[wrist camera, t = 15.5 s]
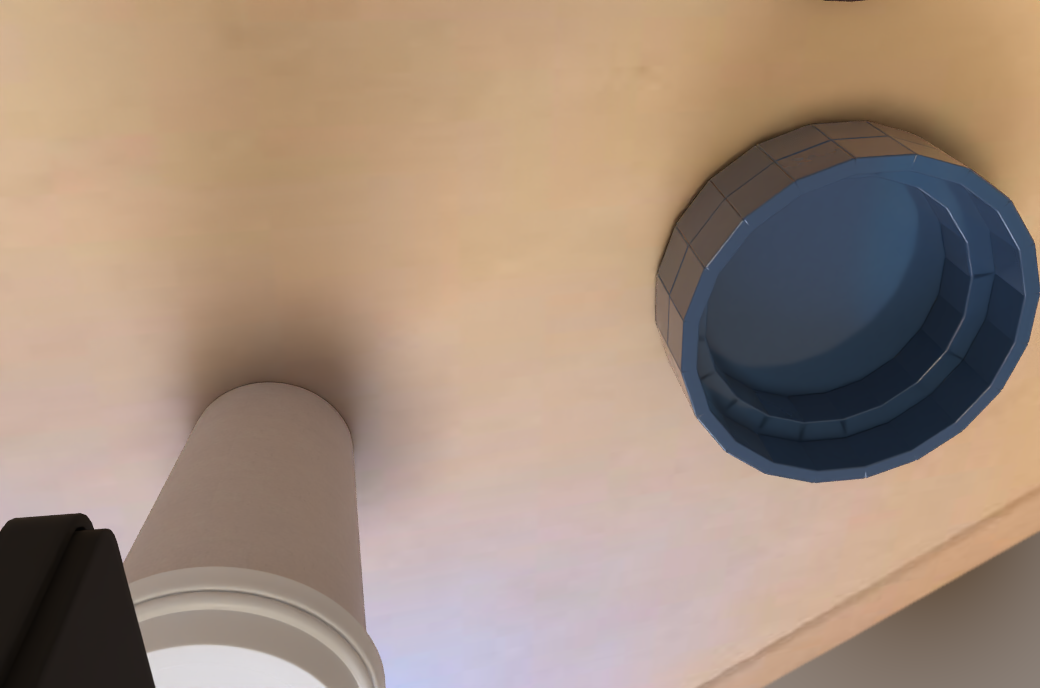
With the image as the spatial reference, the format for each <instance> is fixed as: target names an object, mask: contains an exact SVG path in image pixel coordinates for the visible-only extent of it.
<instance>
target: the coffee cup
mask: <svg viewBox="0 0 1040 688" xmlns="http://www.w3.org/2000/svg"><path fill="white" fill-rule="evenodd" d="M123 566H124V570H125V574H126V578H127V582H128V585H129V589H130V593H131V597H132V600H133V604H134V608H135V612H136V616H137V619H138V623H139V627H140V631H141V634H142V638H143V642H144V646H145V650H146V653H147V657H148V661H149V665H150V668H151V672H152V676H153V680H154V684H155V687H156V688H385V674H384V669H383V665H382V661H381V658H380V656H379V653H378V651H377V649H376V647H375V645H374V643H373V641H372V639H371V638H370V636H369V635H368V633H367V632H366V622H365V609H364V596H363V583H362V569H361V555H360V541H359V527H358V513H357V498H356V484H355V469H354V455H353V444H352V439H351V435H350V432H349V429H348V427H347V425H346V423H345V421H344V420H343V418H342V417H341V416H340V414H339V413H338V412H337V411H336V410H335V409H334V408H333V407H332V406H331V405H330V404H329V403H328V402H327V401H325V400H324V399H323V398H321V397H319V396H318V395H316V394H314V393H312V392H310V391H308V390H306V389H303V388H300V387H297V386H294V385H289V384H284V383H274V382H264V383H254V384H249V385H245V386H241V387H238V388H235V389H233V390H231V391H229V392H227V393H225V394H223V395H221V396H220V397H218V398H217V399H216V400H215V401H213V402H212V403H211V404H210V405H209V406H208V407H207V408H206V409H205V411H204V412H203V413H202V415H201V416H200V418H199V420H198V421H197V423H196V425H195V427H194V429H193V431H192V433H191V435H190V437H189V438H188V440H187V442H186V444H185V446H184V448H183V450H182V452H181V454H180V456H179V458H178V460H177V462H176V463H175V465H174V467H173V469H172V471H171V473H170V475H169V477H168V479H167V481H166V483H165V485H164V486H163V488H162V490H161V492H160V494H159V496H158V498H157V500H156V502H155V504H154V506H153V508H152V509H151V511H150V513H149V515H148V517H147V519H146V521H145V523H144V525H143V527H142V529H141V530H140V532H139V534H138V536H137V538H136V540H135V542H134V544H133V546H132V548H131V549H130V551H129V553H128V555H127V557H126V559H125V561H124V563H123Z"/></svg>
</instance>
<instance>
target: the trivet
mask: <svg viewBox="0 0 1040 688" xmlns="http://www.w3.org/2000/svg"><path fill="white" fill-rule="evenodd" d="M825 1H846V2H853V1H863V0H825Z"/></svg>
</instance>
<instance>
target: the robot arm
mask: <svg viewBox="0 0 1040 688" xmlns="http://www.w3.org/2000/svg"><path fill="white" fill-rule="evenodd" d="M0 688H156V687H155V684H154V680H153V676H152V672H151V668H150V665H149V661H148V657H147V653H146V650H145V646H144V642H143V638H142V634H141V631H140V627H139V623H138V619H137V616H136V612H135V608H134V604H133V600H132V597H131V593H130V589H129V585H128V582H127V578H126V574H125V570H124V566H123V563H122V559H121V555H120V551H119V547H118V544H117V541H116V538H115V535H114V534H113V532H112V531H111V530H110V529H95V530H94V528H93V525H92V522H91V521H90V520H89V518H88V517H87V516H86V515H84V514H81V513H77V514H63V515H50V516H37V517H24V518H14V519H12V520H10V521H8V522H7V523H6V524H5V526H4V527H3V528H2V529H1V531H0Z"/></svg>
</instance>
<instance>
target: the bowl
mask: <svg viewBox="0 0 1040 688" xmlns="http://www.w3.org/2000/svg"><path fill="white" fill-rule="evenodd" d="M676 225H677V226H675V228H674V230H673V233H672V236H671V238H670V241H669V244H668V247H667V249H666V252H665V255H664V257H663V260H662V263H661V265H660V268H659V271H658V274H657V289H656V325H657V328H658V331H659V334H660V337H661V340H662V343H663V345H664V348H665V351H666V354H667V357H668V360H669V363H670V365H671V367H672V369H673V371H674V373H675V375H676V377H677V379H678V382H679V384H680V386H681V387H682V390H683V392H684V394H685V396H686V398H687V400H688V402H689V404H690V406H691V408H692V410H693V412H694V414H695V416H696V418H697V419H698V420H699V422H700V423H701V424H702V425H703V426H704V427H705V429H706V430H707V431H708V432H709V433H710V434H711V436H712V437H713V438H714V439H715V440H716V442H717V443H718V444H719V445H720V446H721V447H722V449H723V450H724V451H726V452H727V453H728V454H730V455H732V456H734V457H736V458H737V459H739V460H741V461H743V462H745V463H746V464H748V465H750V466H752V467H754V468H756V469H757V470H759V471H761V472H763V473H765V474H768V475H774V476H779V477H784V478H790V479H795V480H800V481H806V482H811V483H820V482H831V481H841V480H852V479H863V478H865V477H866V478H868V477H870V476H873V475H876V474H879V473H882V472H885V471H888V470H890V469H893V468H896V467H899V466H902V465H905V464H907V463H910V462H913V461H915V460H918V459H920V458H921V457H923V456H924V455H926V454H928V453H929V452H931V451H932V450H934V449H935V448H937V447H938V446H940V445H942V444H943V443H945V442H946V441H948V440H949V439H951V438H953V437H954V436H956V435H957V434H959V433H960V432H962V431H963V430H964V429H965V428H966V427H967V426H968V425H969V424H970V423H971V422H972V421H973V420H974V419H975V418H976V417H977V416H978V415H979V414H980V413H981V412H982V410H983V409H984V408H985V407H986V406H987V405H988V404H989V403H990V402H991V401H992V400H993V399H994V398H995V397H996V396H997V395H998V394H999V393H1000V392H1001V390H1002V389H1003V387H1004V386H1005V384H1006V382H1007V380H1008V379H1009V377H1010V375H1011V373H1012V372H1013V370H1014V368H1015V366H1016V364H1017V363H1018V361H1019V359H1020V357H1021V356H1022V354H1023V352H1024V350H1025V349H1026V347H1027V345H1028V342H1029V339H1030V335H1031V330H1032V326H1033V322H1034V318H1035V313H1036V309H1037V305H1038V300H1039V296H1040V284H1039V275H1038V266H1037V257H1036V248H1035V243H1034V240H1033V238H1032V237H1031V235H1030V233H1029V231H1028V229H1027V228H1026V226H1025V224H1024V222H1023V220H1022V219H1021V217H1020V215H1019V213H1018V211H1017V210H1016V208H1015V206H1014V204H1013V202H1012V201H1011V200H1010V199H1009V197H1007V196H1006V195H1005V194H1003V193H1002V192H1001V191H999V190H998V189H997V188H996V187H994V186H993V185H992V184H990V183H989V182H988V181H986V180H985V179H984V178H982V177H981V176H980V175H978V174H977V173H976V172H975V171H973V170H972V169H970V168H969V167H967V166H966V165H964V164H962V163H961V162H959V161H958V160H956V159H954V158H953V157H951V156H949V155H948V154H946V153H945V152H943V151H941V150H940V149H938V148H936V147H935V146H933V145H932V144H930V143H928V142H927V141H925V140H924V139H922V138H920V137H919V136H917V135H915V134H913V133H910V132H906V131H903V130H899V129H895V128H892V127H888V126H885V125H881V124H877V123H874V122H870V121H851V122H836V123H820V124H812V125H807V126H804V127H801V128H799V129H796V130H793V131H791V132H788V133H786V134H783V135H780V136H778V137H775V138H773V139H770V140H767V141H765V142H762V143H759V144H757V146H756V145H755V146H754V147H752V148H751V149H750V150H748V151H747V152H746V153H744V154H743V155H742V156H740V157H739V158H738V159H736V160H735V161H734V162H732V163H731V164H730V165H728V166H727V167H726V168H724V169H723V170H722V171H720V172H719V173H718V174H716V175H715V176H714V177H712V178H711V179H710V180H709V181H708V182H707V183H706V185H705V186H704V187H703V189H702V190H701V191H700V193H699V194H698V195H697V197H696V198H695V199H694V200H693V202H692V203H691V204H690V206H689V207H688V208H687V210H686V211H685V212H684V214H683V215H682V216H681V218H680V219H679V220H678V222H677V223H676Z"/></svg>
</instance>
